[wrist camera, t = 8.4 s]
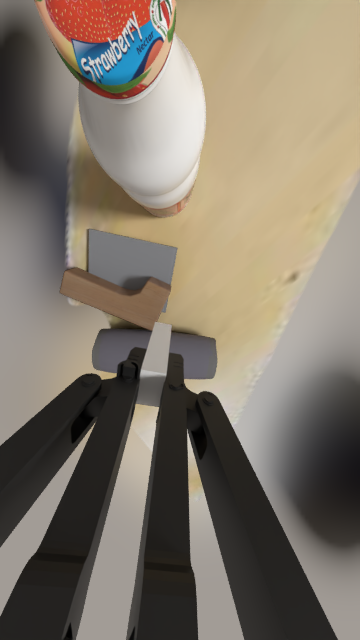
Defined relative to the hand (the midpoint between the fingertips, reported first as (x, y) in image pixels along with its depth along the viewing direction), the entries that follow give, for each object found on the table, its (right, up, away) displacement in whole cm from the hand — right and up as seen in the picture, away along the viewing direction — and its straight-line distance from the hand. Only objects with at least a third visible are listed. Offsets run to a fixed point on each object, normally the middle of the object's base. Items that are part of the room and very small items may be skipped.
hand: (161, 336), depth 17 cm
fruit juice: (-1, +24, +15) cm, 28 cm away
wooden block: (-2, +4, +20) cm, 20 cm away
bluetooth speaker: (-3, -3, +26) cm, 27 cm away
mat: (-8, +11, +20) cm, 24 cm away
